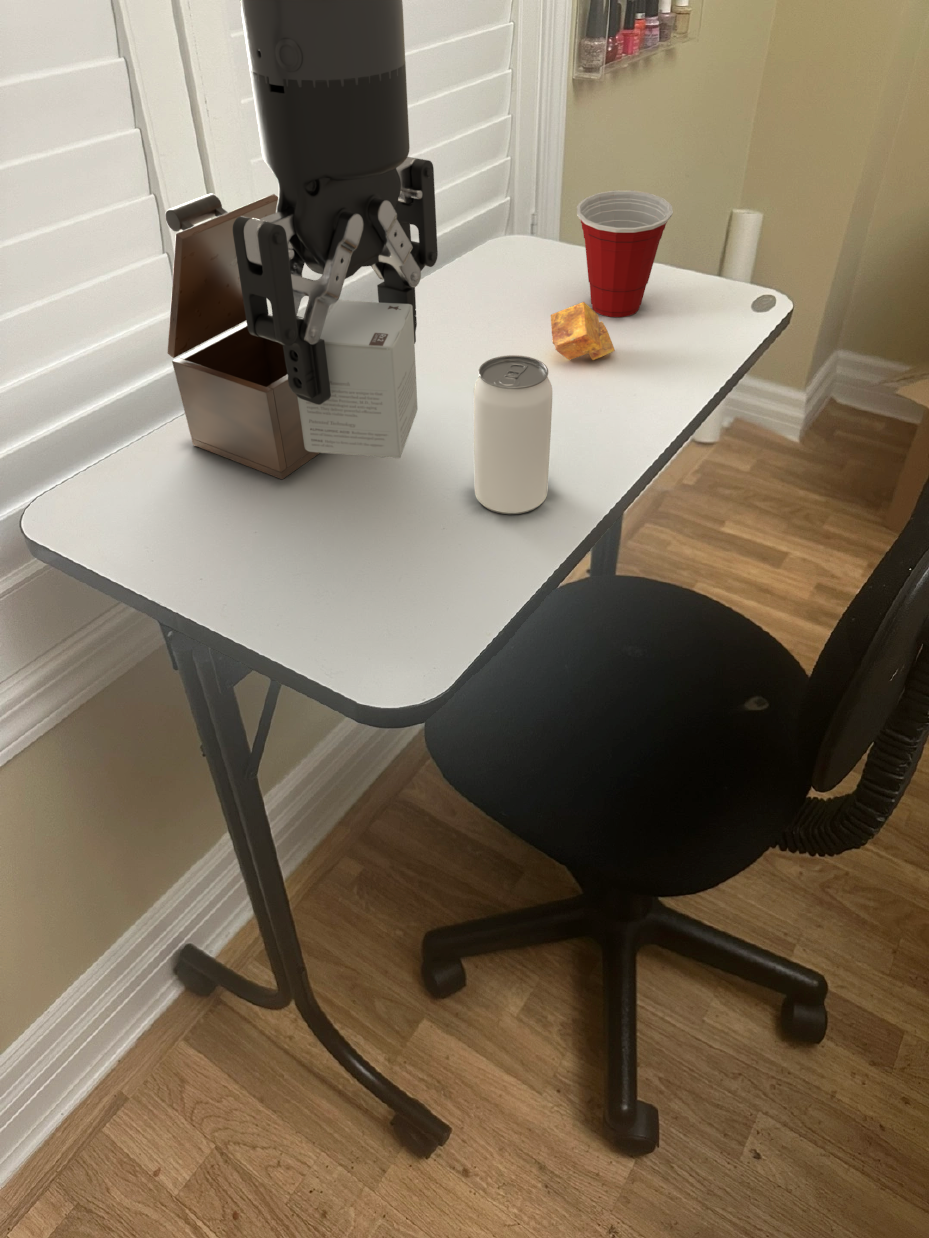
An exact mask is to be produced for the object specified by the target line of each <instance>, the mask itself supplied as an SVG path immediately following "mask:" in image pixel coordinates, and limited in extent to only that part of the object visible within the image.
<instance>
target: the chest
mask: <svg viewBox="0 0 929 1238" xmlns="http://www.w3.org/2000/svg"><path fill="white" fill-rule="evenodd" d="M171 363H172V367H173V371H174V375H175V379H176V383H177V387H178V391H179V395H180V399H181V402H182V403H181V404H182V408H183V411H184V416H185V419H186V423H187V427H188V430H189V435H190V439H191V443H192V445H193V446H194V447H196V448H199V449H202V450H204V451H207V452H210V453H212V454H215V455H218V456H220V457H223V458H225V459H228V460H231V461H232V462H233V461H234V462H236V463H239V464H241V465H243V466H246V467H248V468H251V469H254V470H257V471H259V472H261V473H264V474H266V475H269V476H272V477H275V478H277V479H280V480H284V479H285V478H287V477H288V476H289V475H291V474H292V473H294V472H295V471H297V470H298V469H299V468H302V466H304V465H305V464H307V463H308V462H309V461H311V460H313V459H314V458H315V457H317V456H318V455H319V454H320V453H317V452H309V451H307V450H306V449H305V446H304V439H303V432H302V425H301V418H300V411H299V403H298V396H297V395H296V394H295V393H293V392H292V390H291V389H290V387H289V383H288V375H287V369H286V363H285V356H284V350H283V344H280V343H279V342H275V341H272V340H269V339H266V338H263V337H257V336H254V335H252V334H250V333H249V331H248V328H247V321H244V322H242V323H241V324H239V325H237V326H235V327H233V328H231V329H229V330H227V331H225V332H223V333H221V334H219V335H218V336H216V337H214V338H212V339H210V340H208V341H206V342H204V343H202V344H200V345H198V346H196V347H195V348H193V349H191V350H189V351H187V352H185V353H183V354H181V355H179V356H178V357H176V358H174V359H173V360H172V361H171Z"/></svg>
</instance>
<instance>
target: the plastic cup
mask: <svg viewBox="0 0 929 1238" xmlns="http://www.w3.org/2000/svg"><path fill="white" fill-rule="evenodd" d="M673 214H674V211H673V204H671V203H670V202H669V201H668V200H667V199H665V198H664V197H662V196H659V195H657V194H653V193H651V192H646V191H639V190H635V189H633V190H632V189H627V190H626V189H625V190H623V189H622V190H621V189H619V190H618V189H617V190H615V189H614V190H609V191H602V192H596V193H594V194H592V195H590V196H587V197H585V198H583V199H582V200H581V201H580V202H579V203H578V204H577V205H576V215H577V218H578V219H579V221H580V224H581V229H582V231H583V233H582V234H583V239H584V244H585V245H584V247H585V256H586V257H585V258H586V268H587V276H588V277H587V279H588V283H589V292H590V293H589V295H590V304H591V309H592V310H593V311H594V312H595V313H596V314H599V315H601V316H605V317H610V318H623V317H630V316H632V315H634V314H637V312H638V311H639V310H640V306H642V303H643V299H644V295H645V292H646V287H647V285H648V283H649V280H650V276H651V274H652V273H651V272H652V269H653V265H654V262H655V259H656V256H657V252H658V249H659V245H660V241H661V239H662V237H663V234H664V231H665V229H666V225H667V224H668V221H669V220H670V219H671V218H672V216H673Z"/></svg>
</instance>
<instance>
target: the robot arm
mask: <svg viewBox="0 0 929 1238" xmlns="http://www.w3.org/2000/svg"><path fill="white" fill-rule="evenodd" d="M239 5H240V12H241V18H242V19H241V20H242V28H243V33H244V41H245V48H246V54H247V59H248V60H247V61H248V66H249V75H250V81H251V88H252V95H253V101H254V102H253V103H254V109H255V115H256V123H257V129H258V135H259V143H260V149H261V156H262V159H263V162H264V163H265V164H266V166H267V167H268V169H270V171H271V172H272V174H273V176H274V178H275V179H276V182H277V184H278V195H277V196H278V204H277V209H276V213H274V214H272V215H269V216H266V217H263V218H261V219H254V218H247V217H243V216H240V217H238V218H237V219H236V220H235V222H234V224H233V238H234V244H235V250H236V257H237V263H238V270H239V276H240V283H241V289H242V296H243V302H244V308H245V315H246V321H245V322H247V328H248V331H249V333H250V334H252V335H254V336H257V337H263V338H266V339H269V340H272V341H275V342H279V343H280V344H283V350H284V356H285V363H286V369H287V375H288V383H289V387H290V389H291V390H292V392H293V393H295V394H296V395H297V396H298V397H299V398H300V399H303V400H306V401H309V402H312V403H315V404H318V405H320V404H322V403H324V402H325V401H327V400H328V399H330V397H331V392H330V383H329V375H328V367H327V358H326V350H325V342H324V340H323V339H320V337H321V333H322V330H323V326H324V323H325V319H326V316H327V312H328V309H329V306H330V305H331V304H333V303H336V302H337V301H338V300H340V297H341V294H342V290H343V287H344V283H345V280H346V279H349V278H350V277H352V276H354V275H355V274H356V273H357V272H358V270H360V269H361V268H363V267H371V269H372V271H374V273H375V275H376V277H378V279H379V280H382V282H379V283H378V284H377V286H376V287H377V298H378V299H377V302H378V303H397V304H411V305H412V306H413V325H414V345H416V342H417V335H416V334H417V333H416V332H417V327H418V322H417V319H418V318H417V310H416V309H417V301H416V287H418V285H419V284H420V281H421V277H422V271H423V269H424V268H425V267H429V268H433V267H434V266H435V265H436V263H437V261H438V257H439V256H438V255H439V254H438V252H439V251H438V233H437V212H436V211H437V210H436V209H437V207H436V190H435V189H436V187H435V170H434V164H433V162H432V161H431V160H430V159H429V160H428V159H423V158H418V157H411V156H409V154H410V148H411V147H410V128H409V126H410V125H409V110H408V109H409V108H408V85H407V63H406V47H405V46H406V44H405V43H406V42H405V24H404V21H405V20H404V8H403V7H404V5H403V0H239ZM411 226H415V227H416V228H417V230H418V241H415V240H412V232H411ZM305 266H307V268H309V270H310V271H312V272H313V273H315V274H318V275H321V276H320V277H319V278H318V279H311V278H306V277H303V270H304V267H305ZM304 297H308V299H307V300H308V301H307V303H306V307H305V311H304V315H303V316H299V315H298V312H299V309H300V307H301V306H300V305H301V302H302V299H303V298H304ZM268 301H269V303H270V307H271V313H269V307H268Z"/></svg>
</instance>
